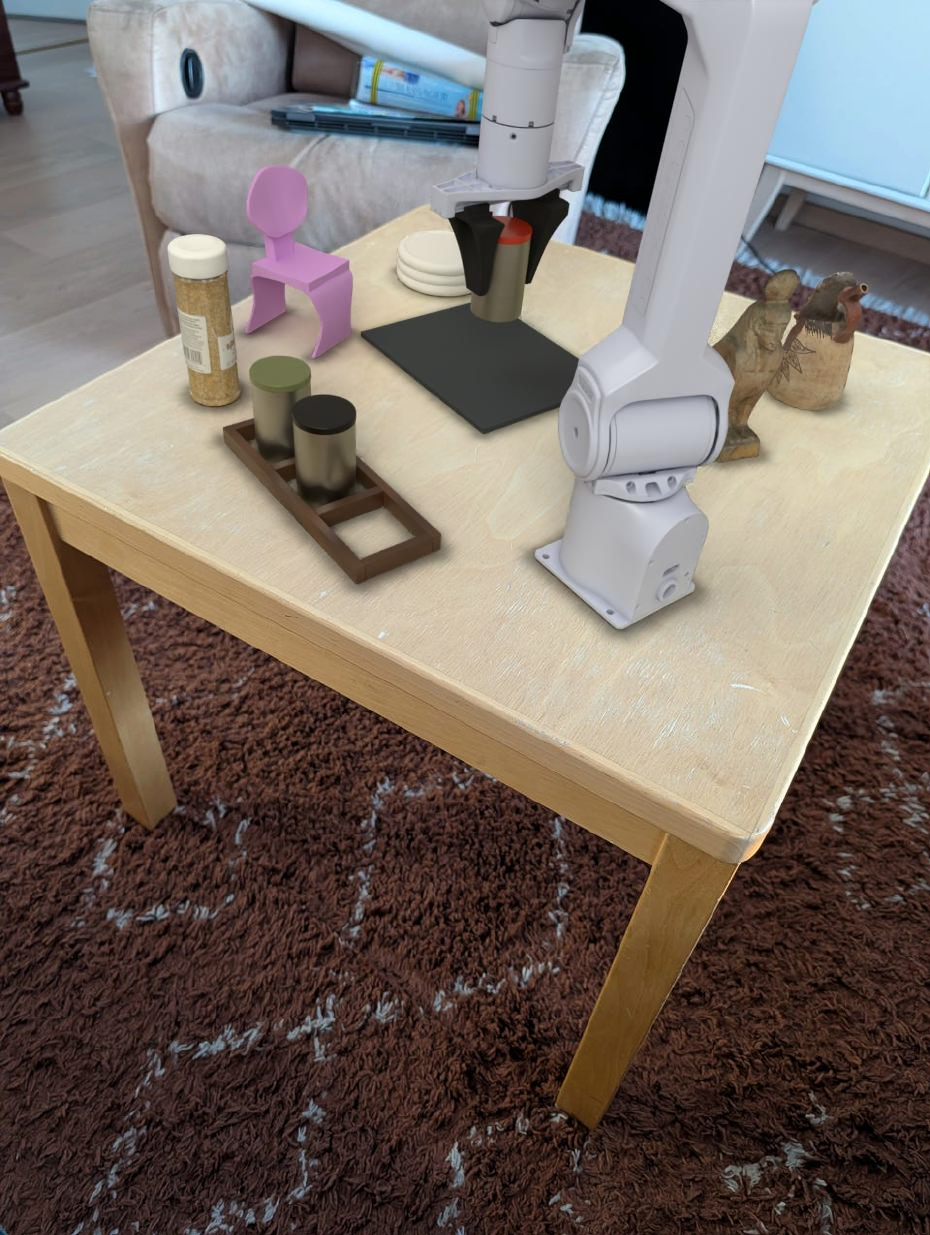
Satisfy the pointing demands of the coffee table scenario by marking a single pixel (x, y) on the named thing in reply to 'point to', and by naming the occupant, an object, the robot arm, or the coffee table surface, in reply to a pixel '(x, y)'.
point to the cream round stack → (431, 263)
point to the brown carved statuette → (755, 360)
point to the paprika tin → (506, 274)
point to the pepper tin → (324, 448)
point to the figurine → (820, 345)
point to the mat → (479, 364)
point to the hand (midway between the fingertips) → (499, 285)
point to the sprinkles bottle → (205, 317)
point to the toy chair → (294, 259)
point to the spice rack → (339, 509)
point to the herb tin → (277, 403)
